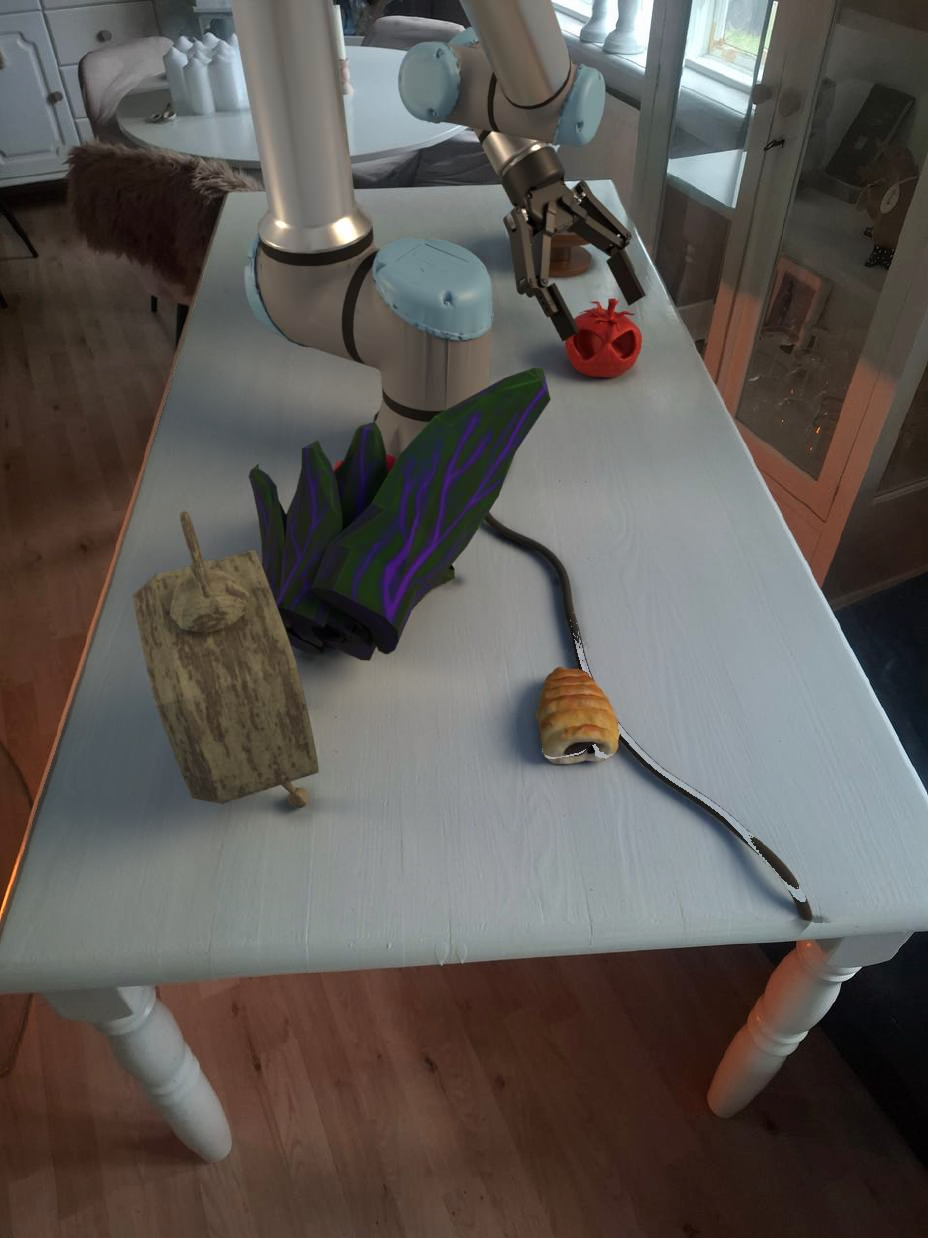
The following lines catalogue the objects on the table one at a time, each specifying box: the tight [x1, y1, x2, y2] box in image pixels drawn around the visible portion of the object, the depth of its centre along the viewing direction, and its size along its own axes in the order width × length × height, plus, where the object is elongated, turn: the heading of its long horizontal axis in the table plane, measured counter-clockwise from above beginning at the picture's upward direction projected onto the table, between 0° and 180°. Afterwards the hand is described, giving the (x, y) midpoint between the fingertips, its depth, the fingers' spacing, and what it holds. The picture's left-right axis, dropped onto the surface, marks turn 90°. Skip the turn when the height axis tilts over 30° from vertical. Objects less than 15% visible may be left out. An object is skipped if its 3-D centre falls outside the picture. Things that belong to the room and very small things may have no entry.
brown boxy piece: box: [132, 510, 320, 809], centre depth 62 cm, size 14×9×25 cm, turn 22°
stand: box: [512, 206, 593, 278], centre depth 134 cm, size 15×15×7 cm
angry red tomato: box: [564, 298, 643, 378], centre depth 112 cm, size 10×10×9 cm
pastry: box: [535, 666, 619, 765], centre depth 73 cm, size 9×7×4 cm
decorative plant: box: [248, 367, 552, 662], centre depth 79 cm, size 21×26×30 cm
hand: (605, 318), depth 110 cm, fingers open, 13 cm apart
